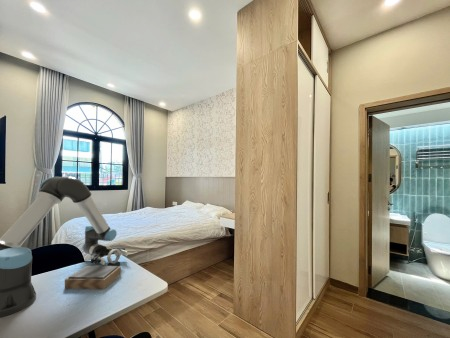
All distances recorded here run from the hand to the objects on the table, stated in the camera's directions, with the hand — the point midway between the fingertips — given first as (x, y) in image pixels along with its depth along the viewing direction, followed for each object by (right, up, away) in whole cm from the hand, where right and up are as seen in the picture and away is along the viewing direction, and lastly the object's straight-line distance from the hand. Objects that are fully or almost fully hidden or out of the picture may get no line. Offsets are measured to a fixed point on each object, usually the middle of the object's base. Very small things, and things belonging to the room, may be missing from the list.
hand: (116, 257), depth 117 cm
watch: (-2, -7, +1) cm, 7 cm away
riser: (-4, -6, -14) cm, 16 cm away
